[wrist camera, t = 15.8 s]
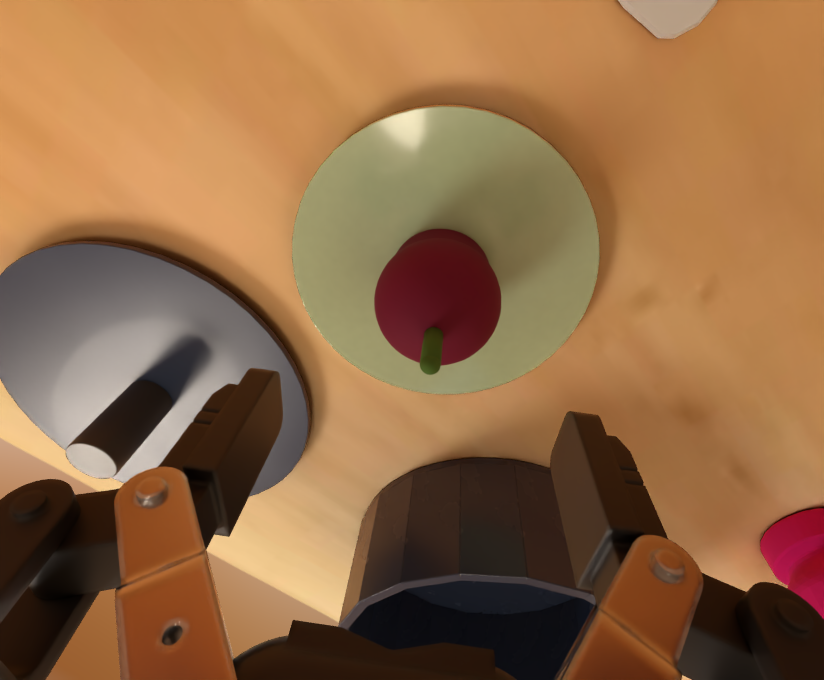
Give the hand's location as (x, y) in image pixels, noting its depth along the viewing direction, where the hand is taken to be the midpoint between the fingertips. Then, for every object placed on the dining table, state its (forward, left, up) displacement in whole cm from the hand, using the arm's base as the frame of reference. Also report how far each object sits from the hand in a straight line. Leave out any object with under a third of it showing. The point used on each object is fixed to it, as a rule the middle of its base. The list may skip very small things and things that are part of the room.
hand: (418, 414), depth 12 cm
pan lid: (+16, +10, -10) cm, 21 cm away
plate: (0, 0, -10) cm, 10 cm away
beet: (0, 0, -10) cm, 10 cm away
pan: (-6, +21, -10) cm, 24 cm away
